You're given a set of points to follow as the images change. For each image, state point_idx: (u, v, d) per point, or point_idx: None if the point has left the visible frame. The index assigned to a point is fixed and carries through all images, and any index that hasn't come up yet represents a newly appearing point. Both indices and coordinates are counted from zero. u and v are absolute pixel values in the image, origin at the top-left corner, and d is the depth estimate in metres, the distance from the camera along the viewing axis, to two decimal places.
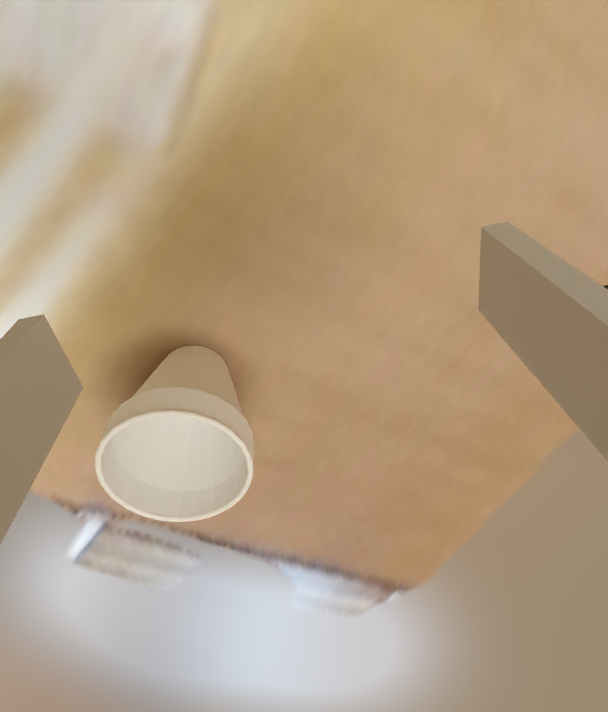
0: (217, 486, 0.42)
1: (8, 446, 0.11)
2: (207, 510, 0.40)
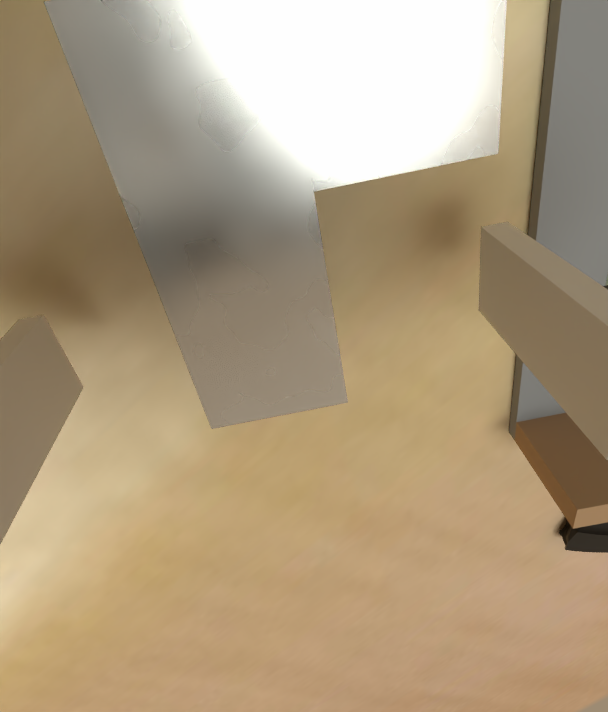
0: None
1: (7, 446, 0.11)
2: None
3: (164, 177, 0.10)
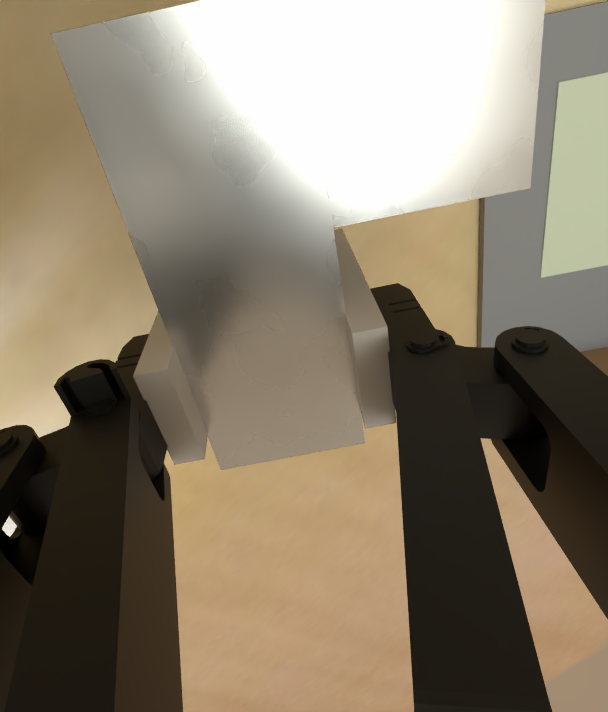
0: None
1: None
2: None
3: (175, 214, 0.09)
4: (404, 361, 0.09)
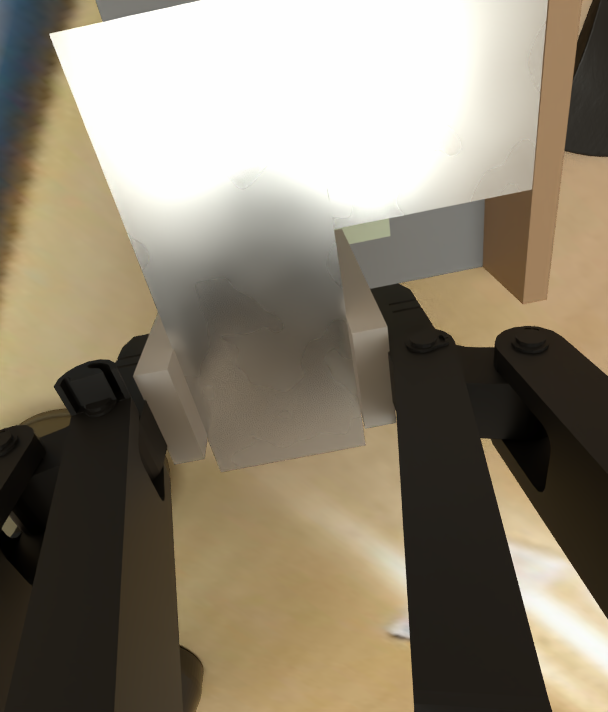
0: None
1: None
2: None
3: (175, 215, 0.09)
4: (403, 361, 0.09)
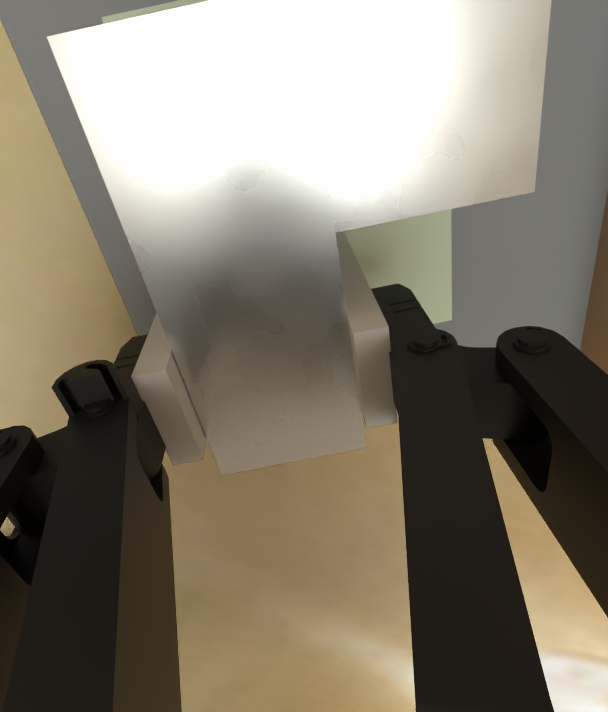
0: None
1: None
2: None
3: (175, 219, 0.09)
4: (405, 361, 0.09)
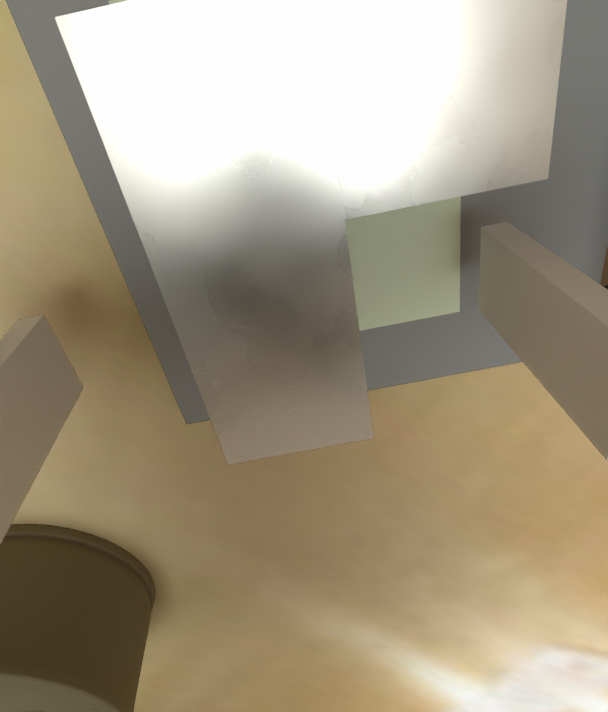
0: None
1: (8, 446, 0.11)
2: None
3: (184, 205, 0.09)
4: None
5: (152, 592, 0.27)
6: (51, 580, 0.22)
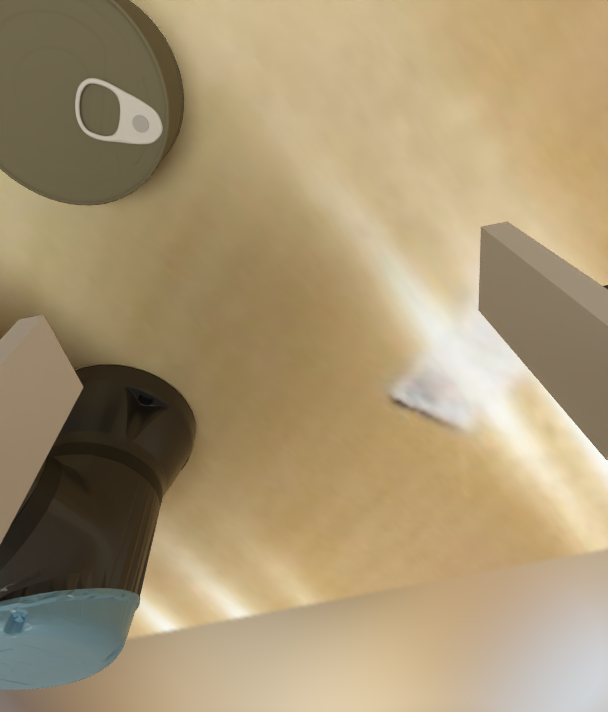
0: None
1: (7, 446, 0.11)
2: None
3: None
4: None
5: (182, 96, 0.32)
6: None
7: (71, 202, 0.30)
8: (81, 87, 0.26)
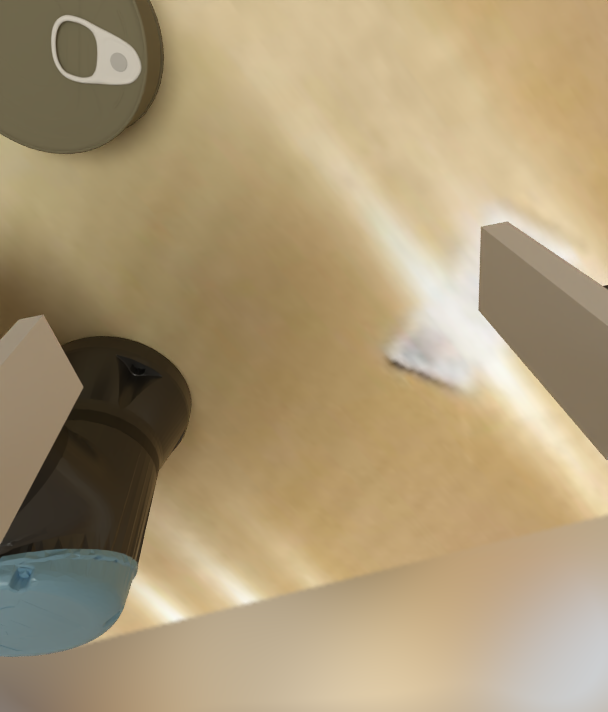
0: None
1: (7, 446, 0.11)
2: None
3: None
4: None
5: (161, 44, 0.32)
6: None
7: (53, 151, 0.29)
8: (56, 24, 0.26)
